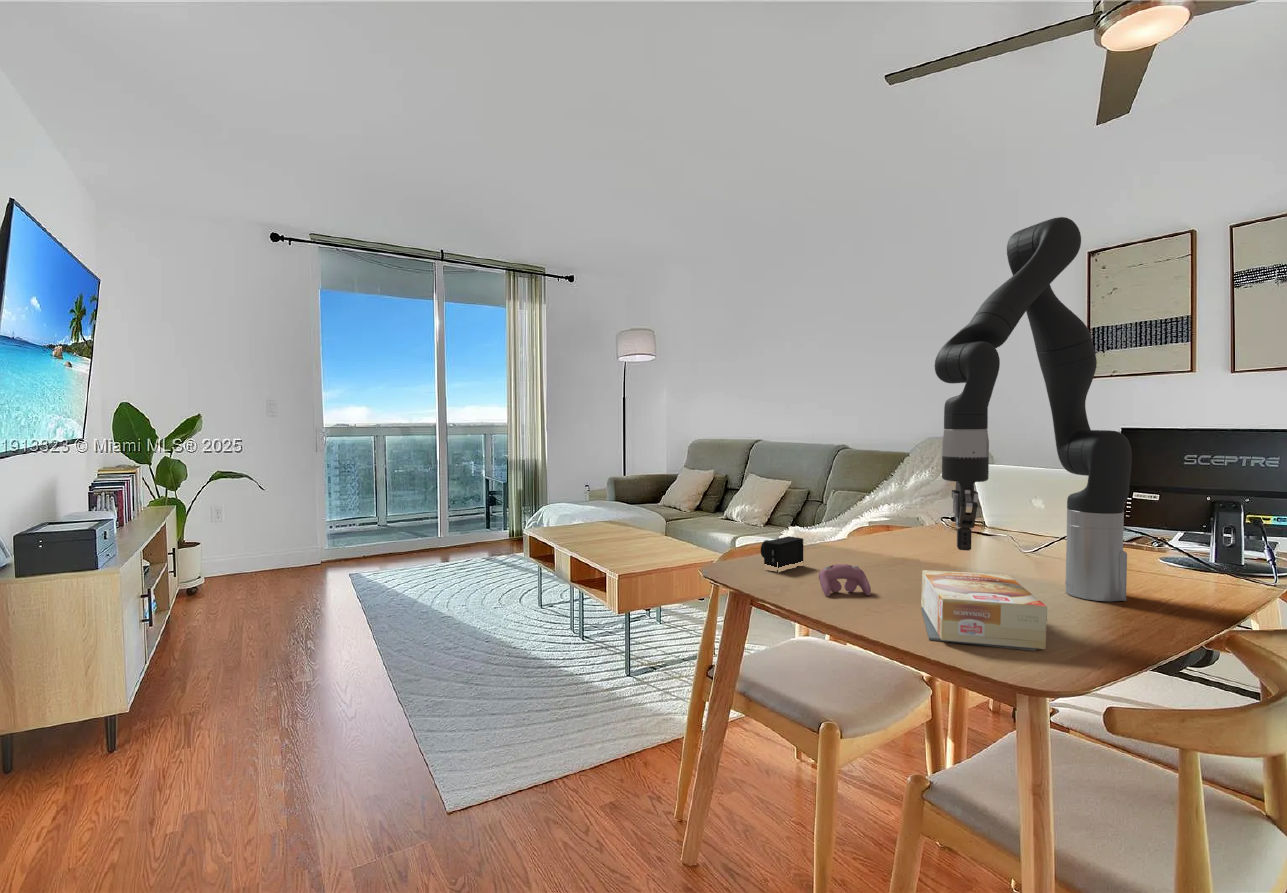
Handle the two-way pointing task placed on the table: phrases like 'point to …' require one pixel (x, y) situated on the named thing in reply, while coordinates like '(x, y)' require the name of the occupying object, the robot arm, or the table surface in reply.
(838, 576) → the video game controller
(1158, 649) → the table surface
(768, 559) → the digital camera
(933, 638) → the mat
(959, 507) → the robot arm
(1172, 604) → the table surface
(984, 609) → the coffeecake box
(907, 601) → the table surface
